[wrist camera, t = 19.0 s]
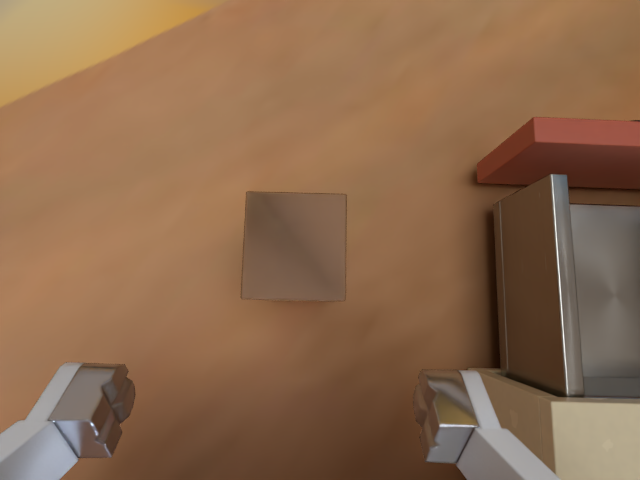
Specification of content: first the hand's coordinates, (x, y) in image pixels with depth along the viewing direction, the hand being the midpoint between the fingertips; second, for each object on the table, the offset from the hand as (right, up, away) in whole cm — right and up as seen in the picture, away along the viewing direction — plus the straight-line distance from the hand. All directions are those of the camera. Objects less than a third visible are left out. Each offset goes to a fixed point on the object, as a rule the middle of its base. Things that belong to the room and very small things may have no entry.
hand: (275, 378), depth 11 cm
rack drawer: (+17, +3, +11) cm, 20 cm away
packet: (0, +2, +11) cm, 12 cm away
